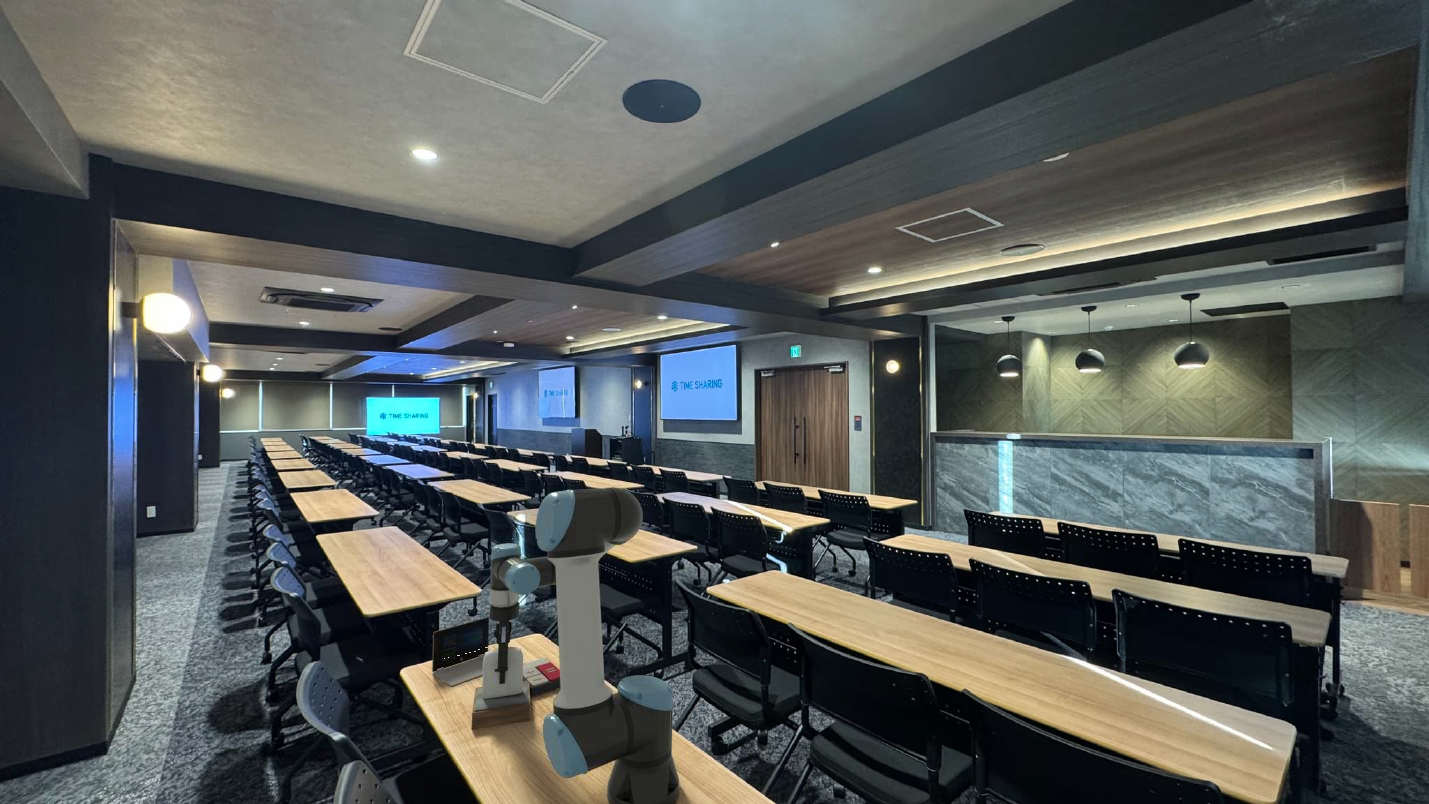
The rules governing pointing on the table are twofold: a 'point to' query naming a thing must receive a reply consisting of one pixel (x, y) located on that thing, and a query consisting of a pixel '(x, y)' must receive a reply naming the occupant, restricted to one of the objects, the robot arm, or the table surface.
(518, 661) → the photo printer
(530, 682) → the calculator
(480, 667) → the laptop
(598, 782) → the table surface
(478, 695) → the mirror
